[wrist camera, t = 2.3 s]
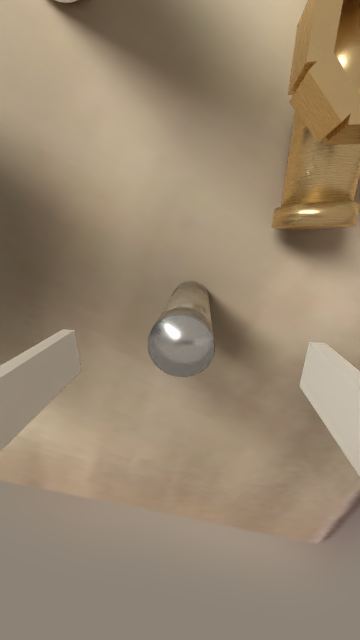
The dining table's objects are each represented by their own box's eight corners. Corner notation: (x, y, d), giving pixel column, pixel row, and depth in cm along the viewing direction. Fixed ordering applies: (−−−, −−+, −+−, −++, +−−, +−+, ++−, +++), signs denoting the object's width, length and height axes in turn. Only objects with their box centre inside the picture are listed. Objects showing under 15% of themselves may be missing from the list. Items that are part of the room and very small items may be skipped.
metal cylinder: (172, 316, 25) (148, 375, 14) (172, 280, 24) (145, 314, 12) (208, 317, 25) (212, 379, 13) (210, 281, 23) (217, 317, 12)
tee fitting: (340, 229, 20) (430, 219, 12) (252, 229, 21) (282, 220, 13) (407, -50, 14) (660, -413, 6) (281, -36, 15) (368, -346, 7)
